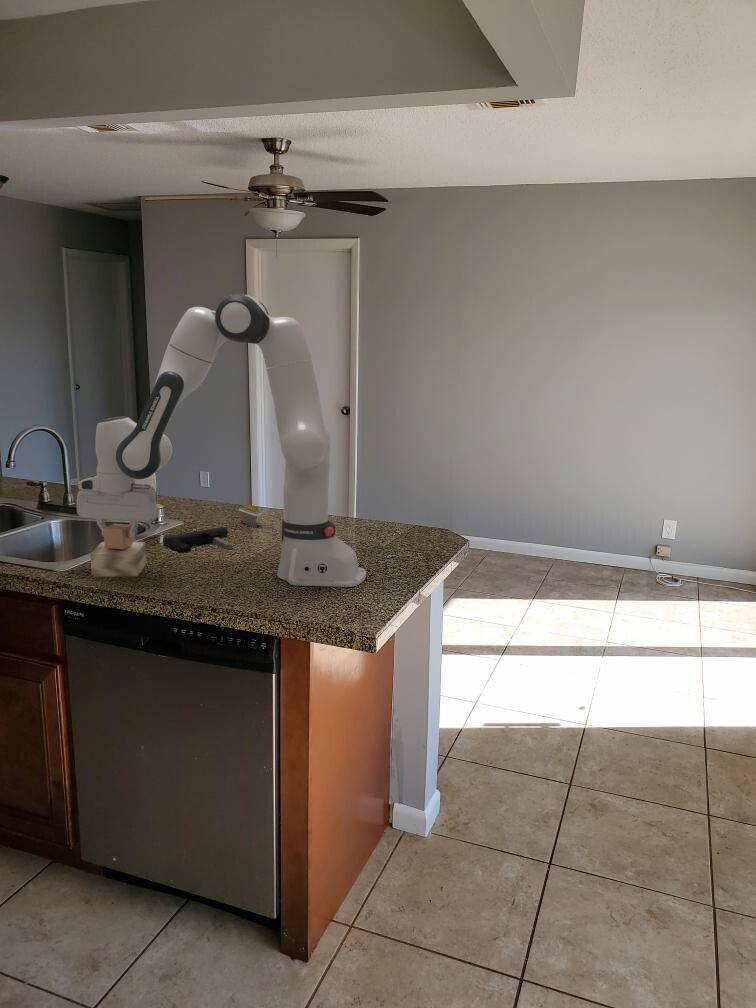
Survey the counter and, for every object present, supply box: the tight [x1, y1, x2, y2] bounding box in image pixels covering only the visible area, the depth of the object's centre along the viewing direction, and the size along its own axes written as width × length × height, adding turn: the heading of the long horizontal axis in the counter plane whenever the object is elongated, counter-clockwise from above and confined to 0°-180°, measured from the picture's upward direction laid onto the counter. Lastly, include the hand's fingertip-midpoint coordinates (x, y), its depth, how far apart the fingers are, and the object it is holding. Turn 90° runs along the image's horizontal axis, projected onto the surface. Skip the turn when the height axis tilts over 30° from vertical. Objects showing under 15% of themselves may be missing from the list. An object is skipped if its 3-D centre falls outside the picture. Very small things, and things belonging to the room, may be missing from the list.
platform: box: [238, 503, 263, 528], centre depth 248 cm, size 12×18×7 cm, turn 41°
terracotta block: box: [103, 523, 134, 549], centre depth 196 cm, size 5×5×5 cm
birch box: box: [89, 541, 147, 577], centre depth 197 cm, size 11×11×6 cm
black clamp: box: [162, 526, 233, 553], centre depth 224 cm, size 3×20×16 cm
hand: (118, 536), depth 196 cm, fingers open, 5 cm apart
